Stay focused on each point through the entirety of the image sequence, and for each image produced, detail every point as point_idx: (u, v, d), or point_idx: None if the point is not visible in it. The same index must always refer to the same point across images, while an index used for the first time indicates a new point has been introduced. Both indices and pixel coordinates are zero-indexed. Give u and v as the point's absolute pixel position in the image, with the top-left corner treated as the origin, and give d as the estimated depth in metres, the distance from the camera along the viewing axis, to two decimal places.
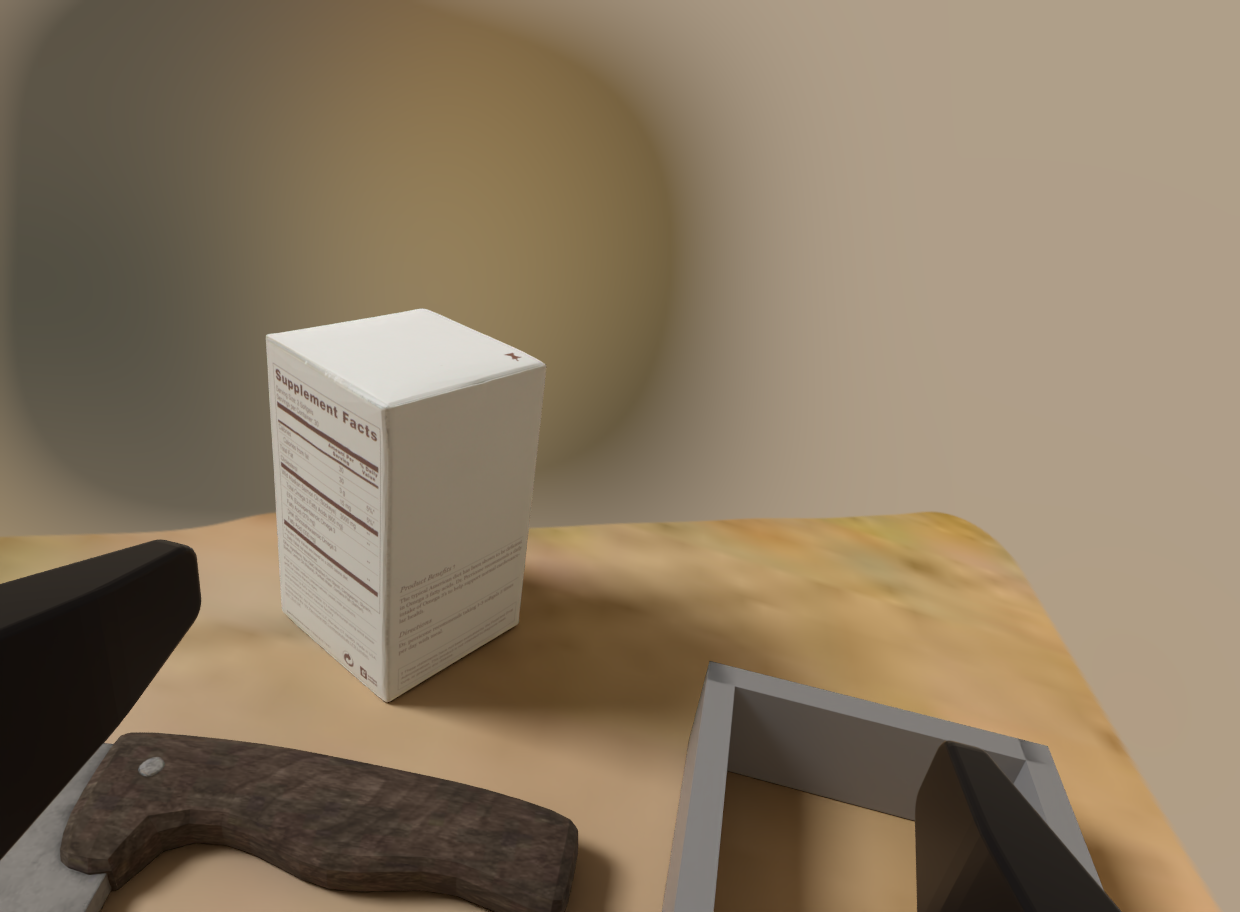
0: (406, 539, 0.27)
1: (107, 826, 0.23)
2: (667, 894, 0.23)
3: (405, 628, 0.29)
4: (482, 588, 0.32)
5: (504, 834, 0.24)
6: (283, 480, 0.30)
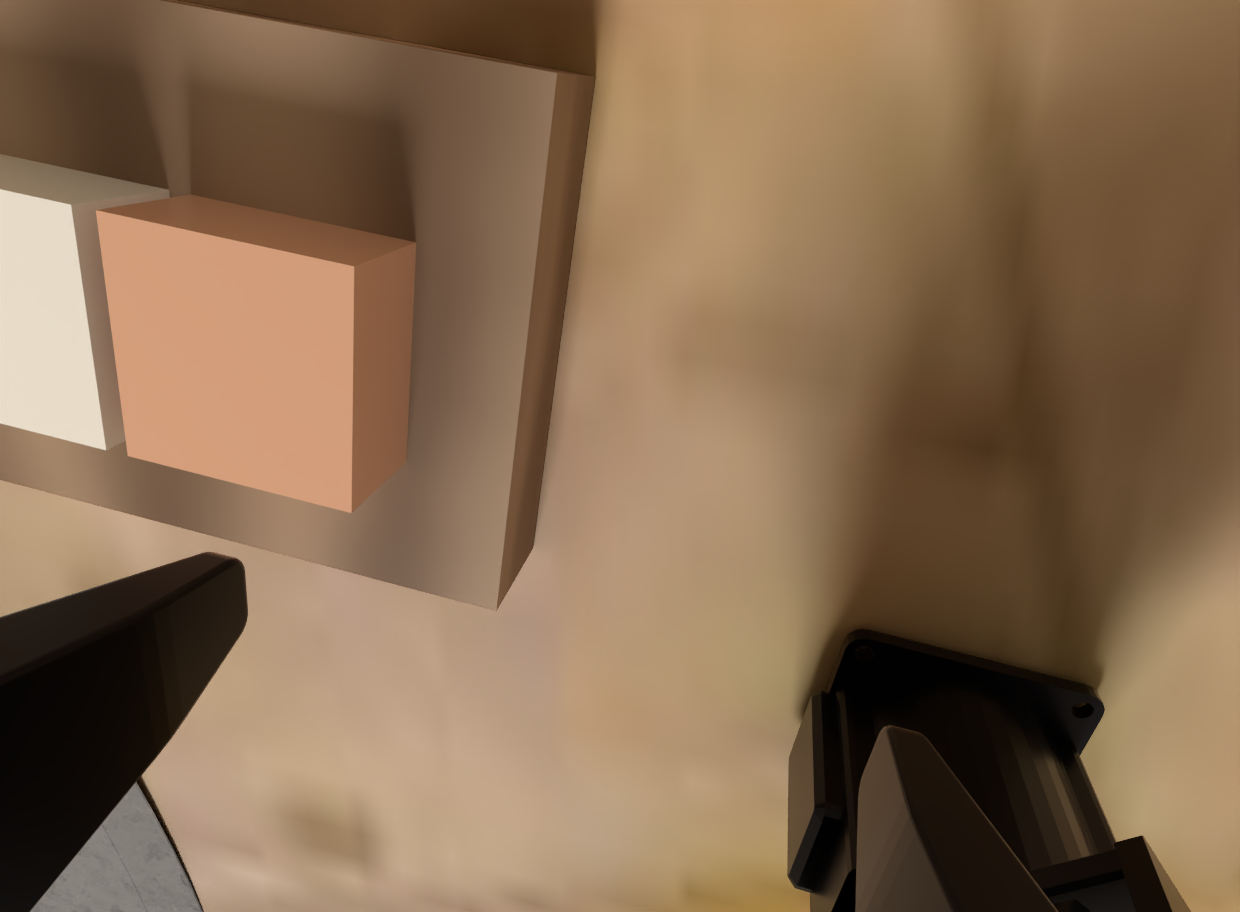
0: None
1: None
2: None
3: None
4: None
5: None
6: None
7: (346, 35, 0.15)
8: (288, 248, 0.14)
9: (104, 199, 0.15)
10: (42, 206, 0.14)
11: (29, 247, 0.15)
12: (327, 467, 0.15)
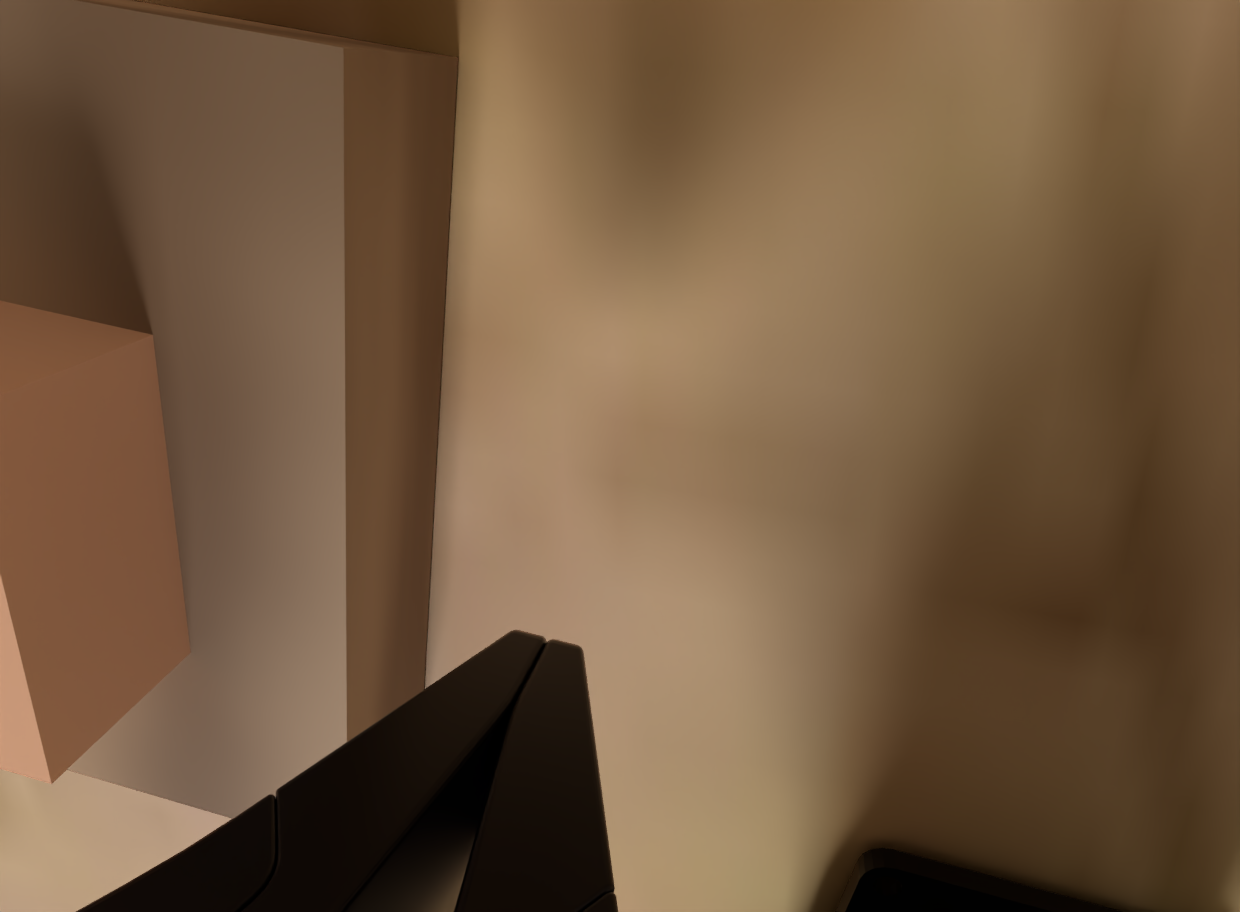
0: None
1: None
2: None
3: None
4: None
5: None
6: None
7: None
8: None
9: None
10: None
11: None
12: None
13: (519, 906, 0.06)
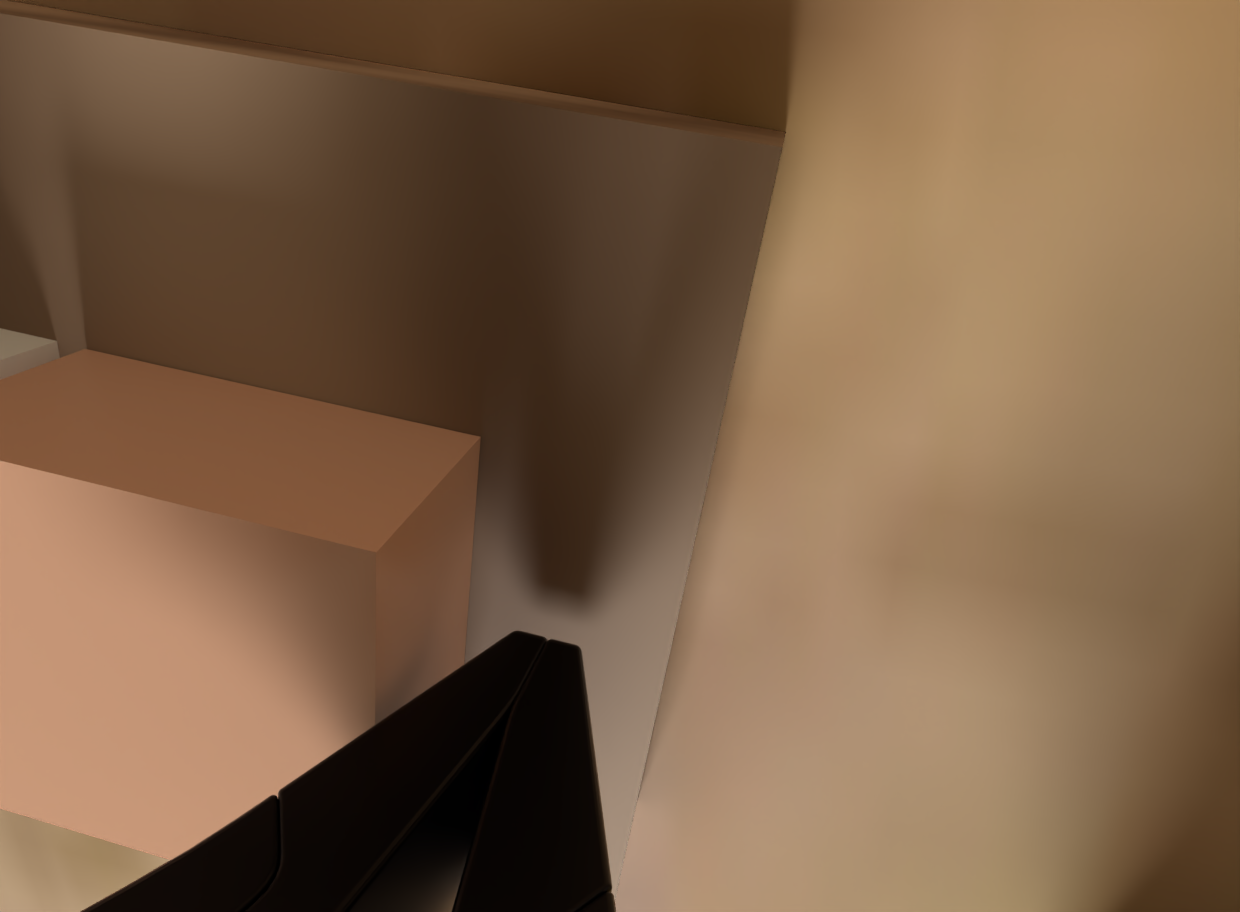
0: None
1: None
2: None
3: None
4: None
5: None
6: None
7: (362, 77, 0.08)
8: (244, 502, 0.07)
9: None
10: None
11: None
12: None
13: (517, 905, 0.06)
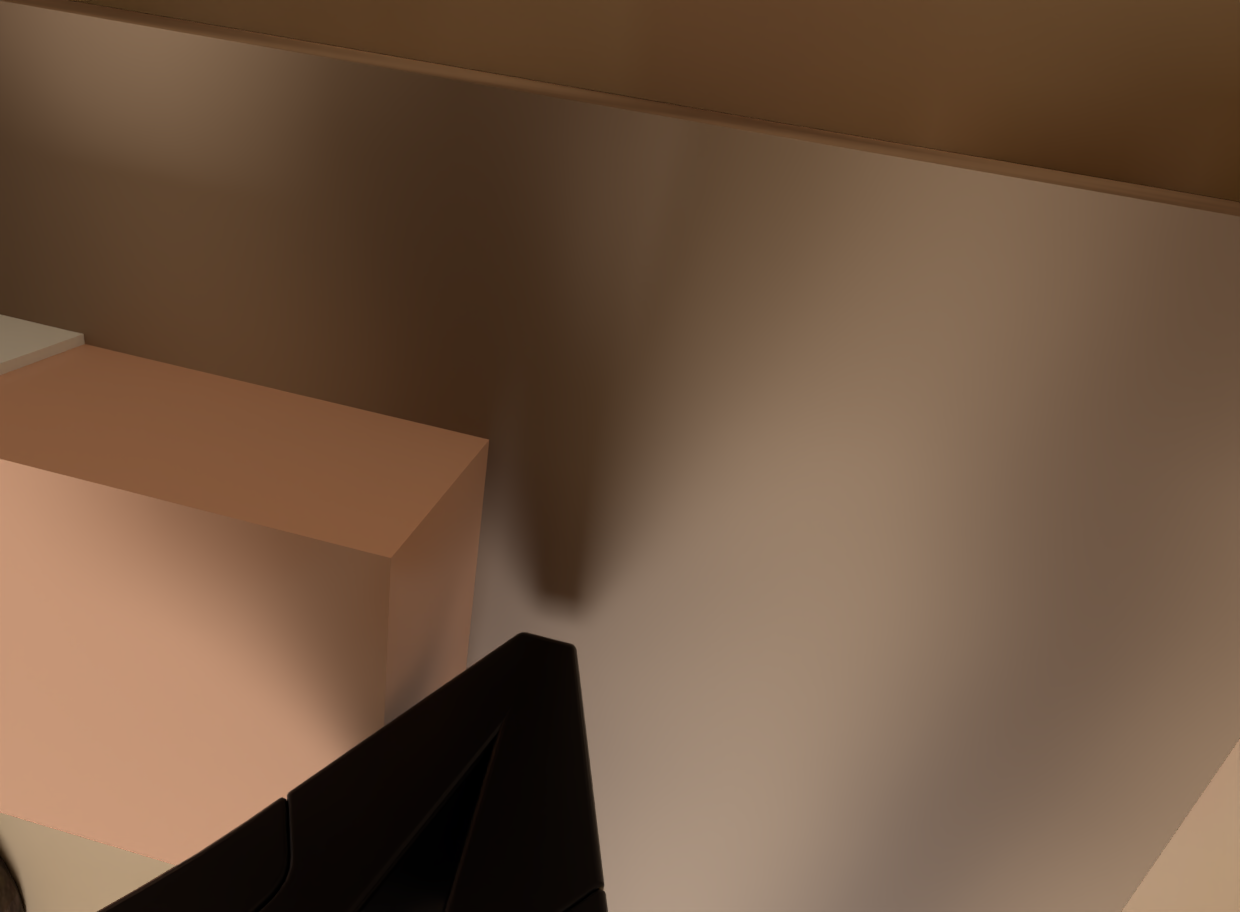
0: None
1: None
2: None
3: None
4: None
5: None
6: None
7: (1043, 184, 0.07)
8: (255, 504, 0.07)
9: None
10: None
11: None
12: None
13: (508, 903, 0.06)
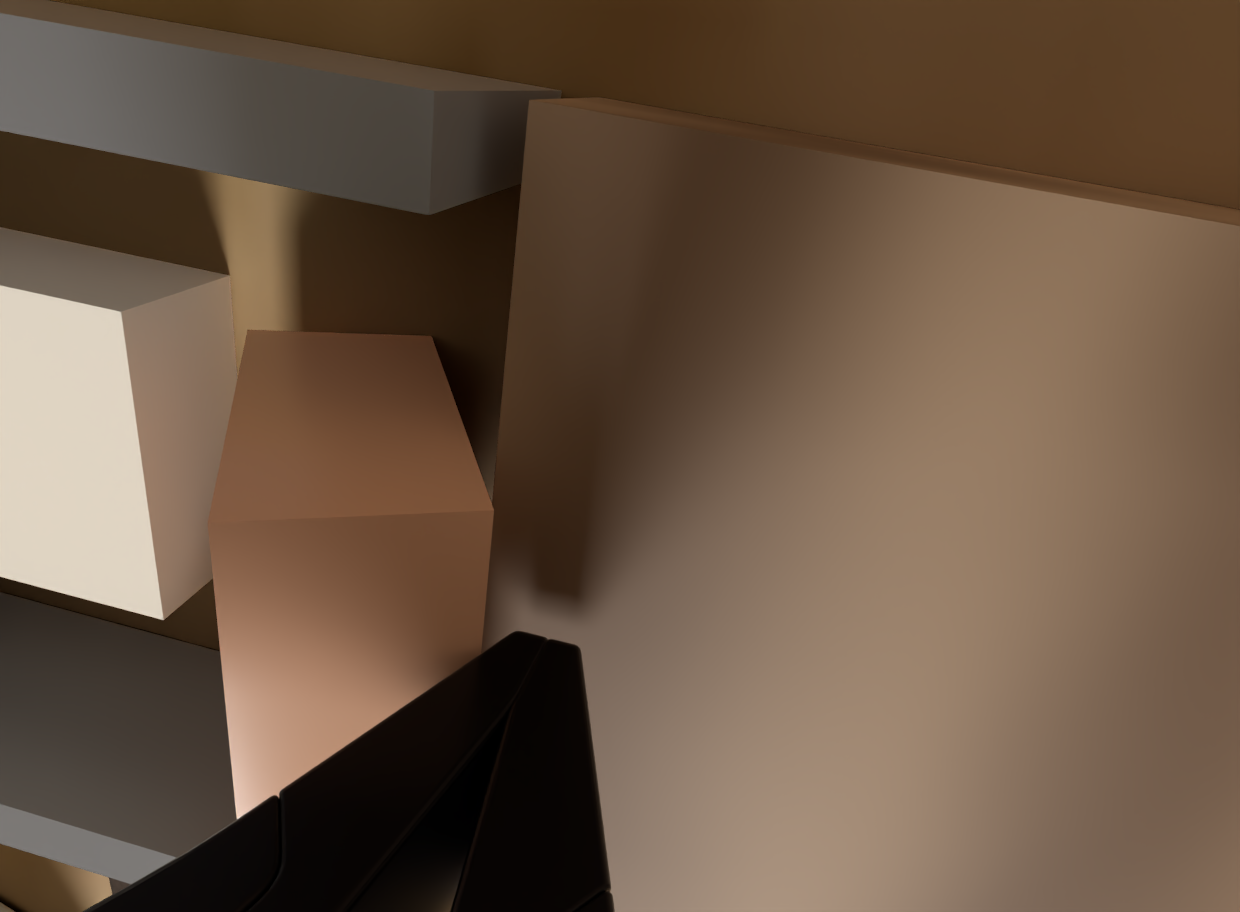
0: None
1: None
2: None
3: None
4: None
5: None
6: None
7: None
8: (250, 448, 0.08)
9: None
10: None
11: None
12: None
13: (516, 904, 0.06)
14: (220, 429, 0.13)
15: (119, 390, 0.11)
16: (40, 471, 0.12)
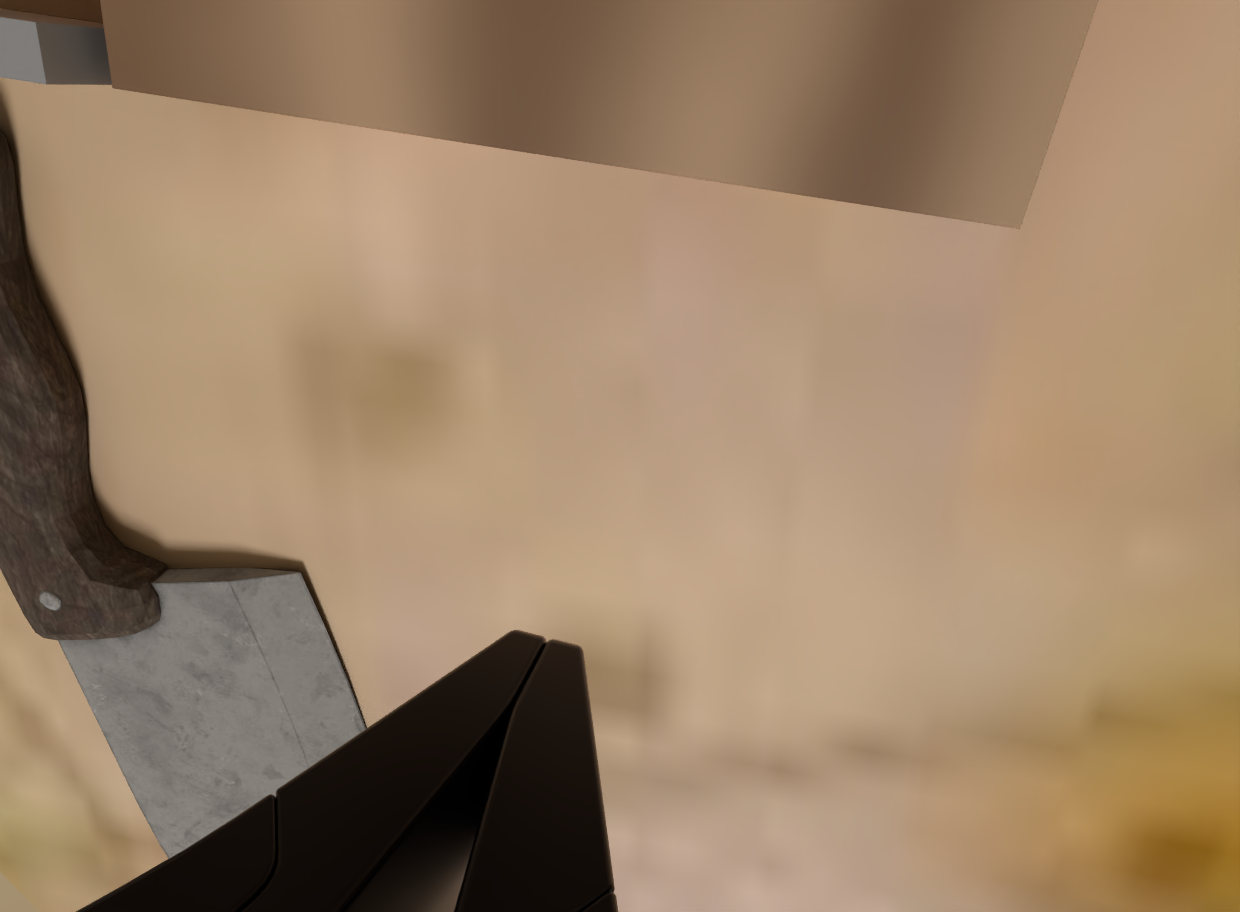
0: None
1: (113, 605, 0.24)
2: None
3: None
4: None
5: None
6: None
7: None
8: None
9: None
10: None
11: None
12: None
13: (519, 906, 0.06)
14: None
15: None
16: None
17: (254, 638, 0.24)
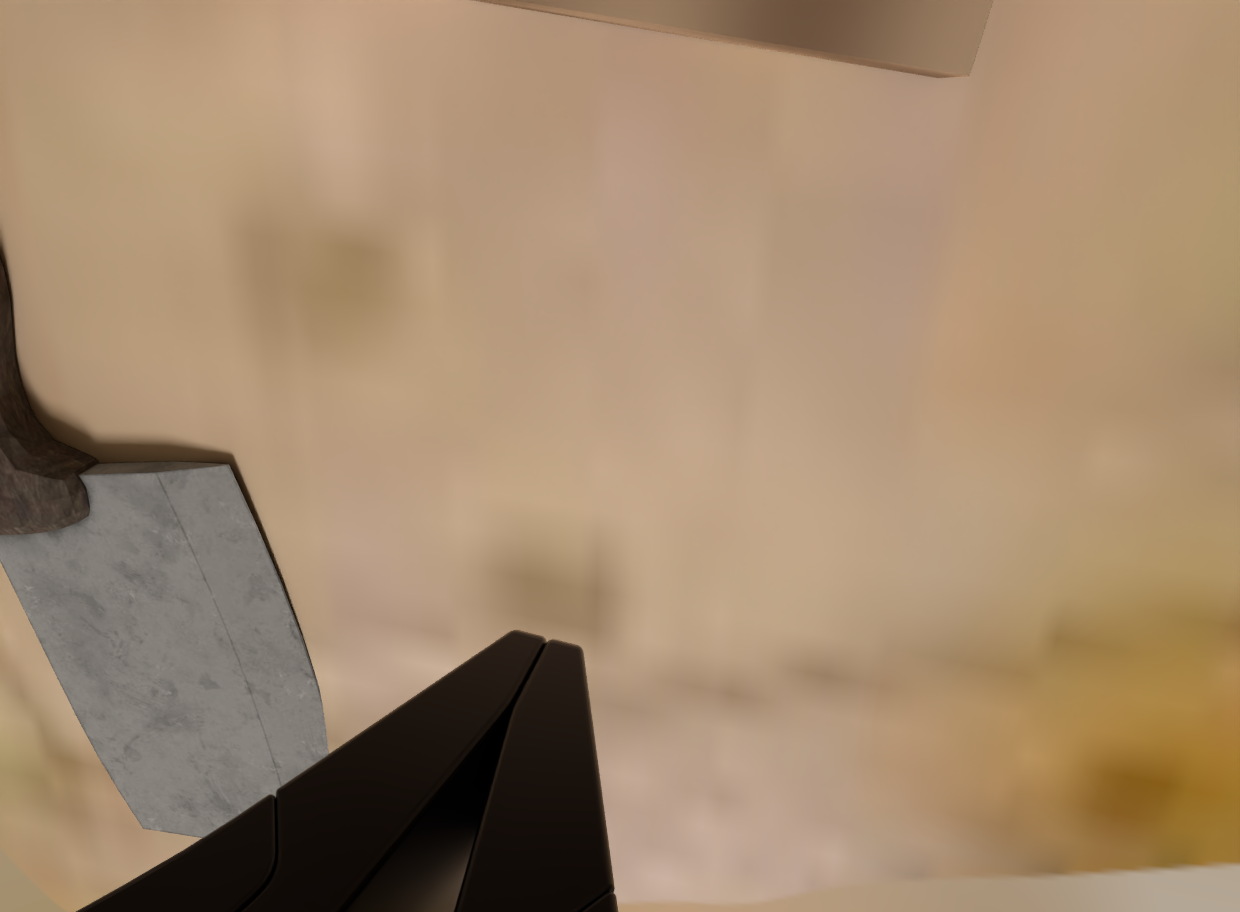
0: None
1: (39, 496, 0.23)
2: None
3: None
4: None
5: None
6: None
7: None
8: None
9: None
10: None
11: None
12: None
13: (517, 906, 0.06)
14: None
15: None
16: None
17: (184, 535, 0.24)
